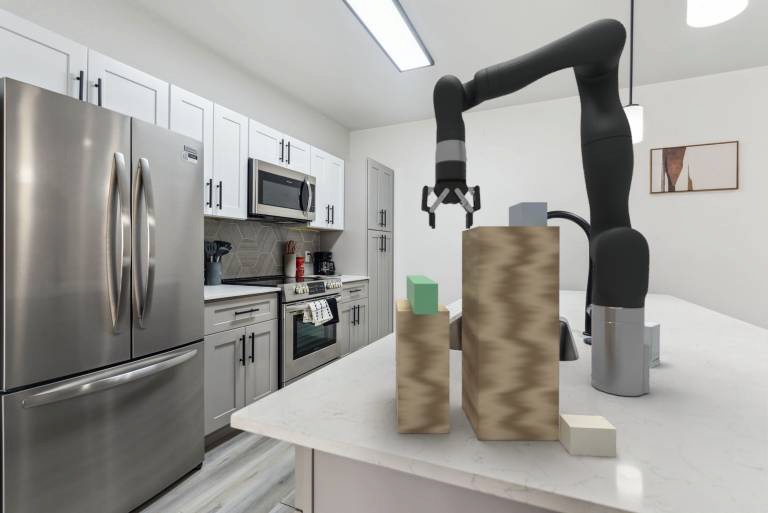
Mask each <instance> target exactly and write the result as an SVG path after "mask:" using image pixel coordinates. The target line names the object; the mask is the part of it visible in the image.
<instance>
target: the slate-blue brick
mask: <svg viewBox="0 0 768 513" xmlns="http://www.w3.org/2000/svg"><path fill="white" fill-rule="evenodd" d="M508 226H548V202H546V201H545V202H544V201H540V202H539V201H535V202H533V201H532V202H531V201H530V202H527V201H525V202H524V201H522V202H519V203H516V204H514V205H510V206H508Z"/></svg>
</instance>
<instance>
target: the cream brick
mask: <svg viewBox="0 0 768 513" xmlns="http://www.w3.org/2000/svg"><path fill="white" fill-rule="evenodd" d="M559 441H560V442H561V444H562V445H563V447H564V448H565V449H566V450H567V452H568V454H569V455H570V456H571V455H572V456H589V457H593V456H594V457H606V458H607V457H608V458H617V428H616V427H615V426H614V425H612V424H611V422H609V421H608V420H607V419H606V418H605V417H603V415H586V414H565V413H564V414H563V413H559Z"/></svg>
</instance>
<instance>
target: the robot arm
mask: <svg viewBox="0 0 768 513" xmlns="http://www.w3.org/2000/svg"><path fill="white" fill-rule="evenodd" d="M626 42H627V28H626V26H624V24H623V23H622V22H621V21H619V20H617V19H615V18H600V19H598V20H595V21H592V22H589V23H587V24H586V25H584V26H581V27H580V28H577V29H576V30H574V31H571V32H569V33H568V34H565V35H564V36H562V37H559V38H558V39H555V40H554V41H551V42H549V43H547V44H545V45H543V46H541V47H539V48H536V49H534V50H531V51H530V52H527V53H524V54H522V55H519V56H516V57H514V58H512V59H509V60H505V61H503V62H499V63H497V64H493V65H489V66H487V67H485V68H481V69H480V70H478V71H476V72H475V74H474V75H473V79H471V80H469V81H467V82H464V83H462V81H461V80H460V79H459V77H458V76H455V75H452V74H446V75H443V76H441V77H440V78H439V79H438V80H437V81H436V83H435V85H434V87H433V92H432V102H433V111H434V118H435V124H436V131H435V133H436V134H435V136H436V139H435V141H436V142H435V143H436V144H435V145H436V146H435V155H434V157H435V158H434V160H435V162H434V163H435V164H434V165H435V168H434V169H435V172H434V173H435V174H434V176H435V177H434V180H435V181H434V186H428V185H424V186H423V187H422V190H421V206H420V209H421V211H422V212H426V213H427V214H428V225H429V226H428V227H431V229H432V230H435V229H436V213H435V211H436V210H437V208H438V207H439V206H440V204H443V205H449V204H451V205H458V204H459V205H460V207H462V208H463V210H464V211H465V230H468V229H471V227H472V226H473V225H474V213H475V212H477V211H479V210H481V208H482V203H481V202H482V201H481V189H480V188H481V187H480V186H479V185H475V186H468V185H467V161H468V158H467V148H466V124H465V121H464V119H463V113H465V112H467V111H468V110H471V109H473V108H475V107H477V106H479V105H481V104H483V102H486V101H491V100H494V99H498V98H501V97H504V96H508V95H511V94H513V93H516V92H517V91H520V90H523V89H524V88H526V87H528V86H529V85H531V84H533V83H535V82H537V81H538V80H540V79H542V78H544V77H546V76H548V75H551V74H554V73H556V72H559V71H562V70H565V69H570V68H572V69H573V74H574V77H575V82H576V85H577V91H578V97H579V102H580V125H579V126H580V128H579V130H580V134H579V135H580V151H581V152H580V153H581V163H582V170H583V176H584V183H585V189H586V190H585V191H586V196H587V202H588V206H589V245H588V247H589V248H588V251H589V256H590V258H591V260H592V262H593V263H594V285H593V288H592V291H591V349H590V350H591V351H590V352H591V360H590V361H591V364H590V366H591V367H590V368H591V369H590V370H591V371H590V372H591V373H590V378H591V382H590V383H591V386H593V388H595V389H597V390H599V391H602V392H604V393H608V394H613V395H618V396H624V397H638V396H643V395H645V394H650V377H651V376H650V373H651V372H650V369H651V368H650V347H649V345H647V344H645V322H644V321H646V320H645V319H646V318H645V315H646V314H645V311H646V308H645V306H646V305H645V304H646V298H647V294H648V292H649V283H650V281H649V280H650V264H651V262H650V246H649V243H648V240H647V238H646V237H645V236H644V234H643V233H641V231H639V230H637V229H634V228H632V223H631V217H630V216H631V215H630V209H629V203H630V202H629V200H630V199H629V198H630V191H631V187H632V180H633V174H634V167H635V166H634V165H635V158H634V157H635V155H634V143H633V135H632V130H631V125H630V121H629V118H628V116H627V114H626V112H625V109H624V106H623V105H622V101H621V98H620V90H619V89H620V88H619V86H620V85H619V69H620V68H619V67H620V59H621V57H622V54H623V51H624V49H625V45H626ZM432 192H433V194H434V195H435V196H436V198H437V199H436V200H435V201H434V202H433V203H432V205H431V206H428V201H429V200H428V197H429V196H431V194H432ZM468 192H469V195H470V196H472V204H473V206H472V205H471V204H470V202H469V201H468V199H467V198H466V195H467V194H468Z"/></svg>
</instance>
